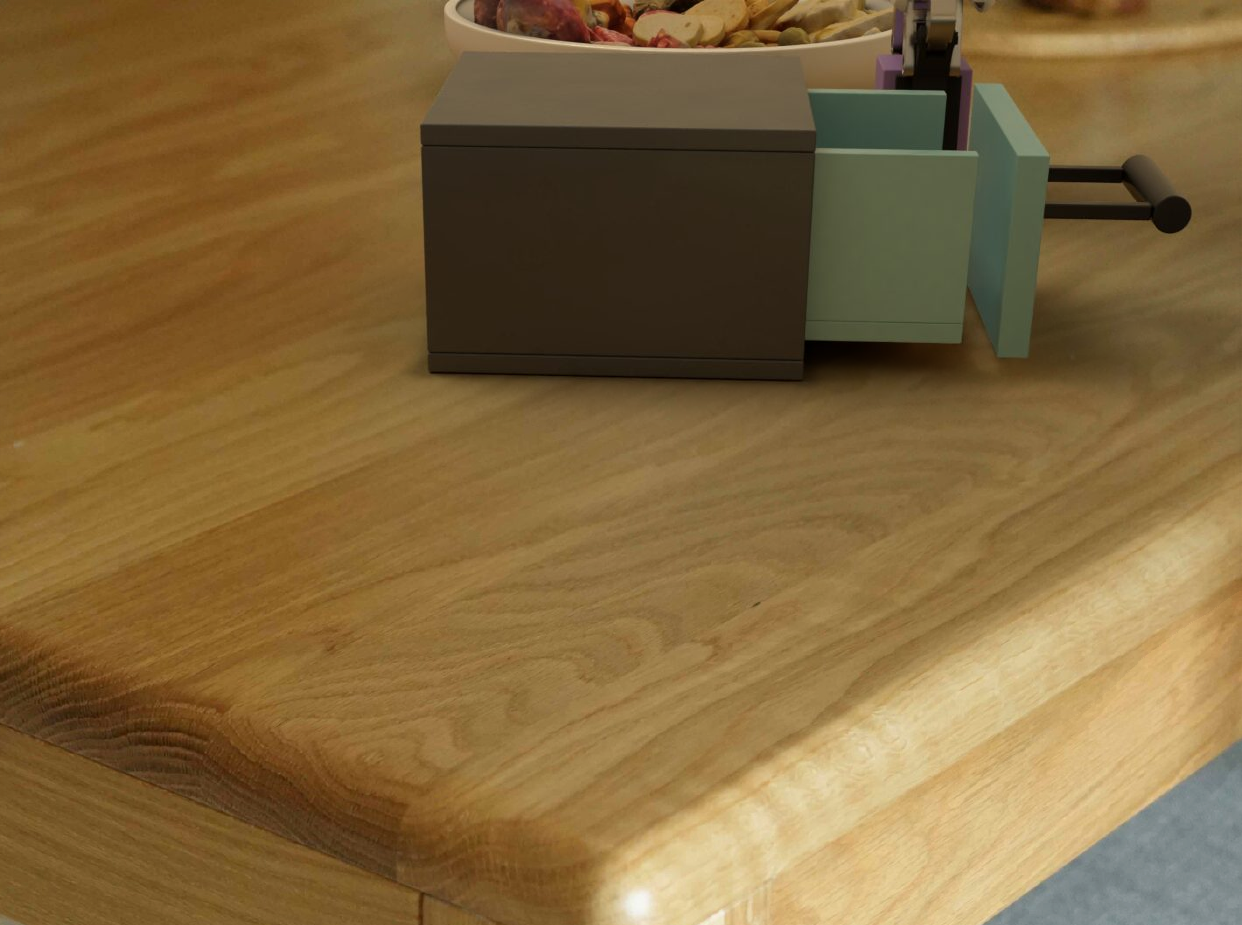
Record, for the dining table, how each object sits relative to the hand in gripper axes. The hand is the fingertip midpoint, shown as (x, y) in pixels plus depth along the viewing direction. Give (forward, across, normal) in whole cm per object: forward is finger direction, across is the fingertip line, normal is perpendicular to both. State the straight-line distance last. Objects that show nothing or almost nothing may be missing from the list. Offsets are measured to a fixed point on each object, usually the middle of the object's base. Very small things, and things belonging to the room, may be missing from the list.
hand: (918, 142), depth 102 cm
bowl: (+2, +26, +12) cm, 29 cm away
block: (0, 0, 0) cm, 0 cm away
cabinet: (+3, -22, +14) cm, 27 cm away
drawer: (+2, -23, +2) cm, 23 cm away
